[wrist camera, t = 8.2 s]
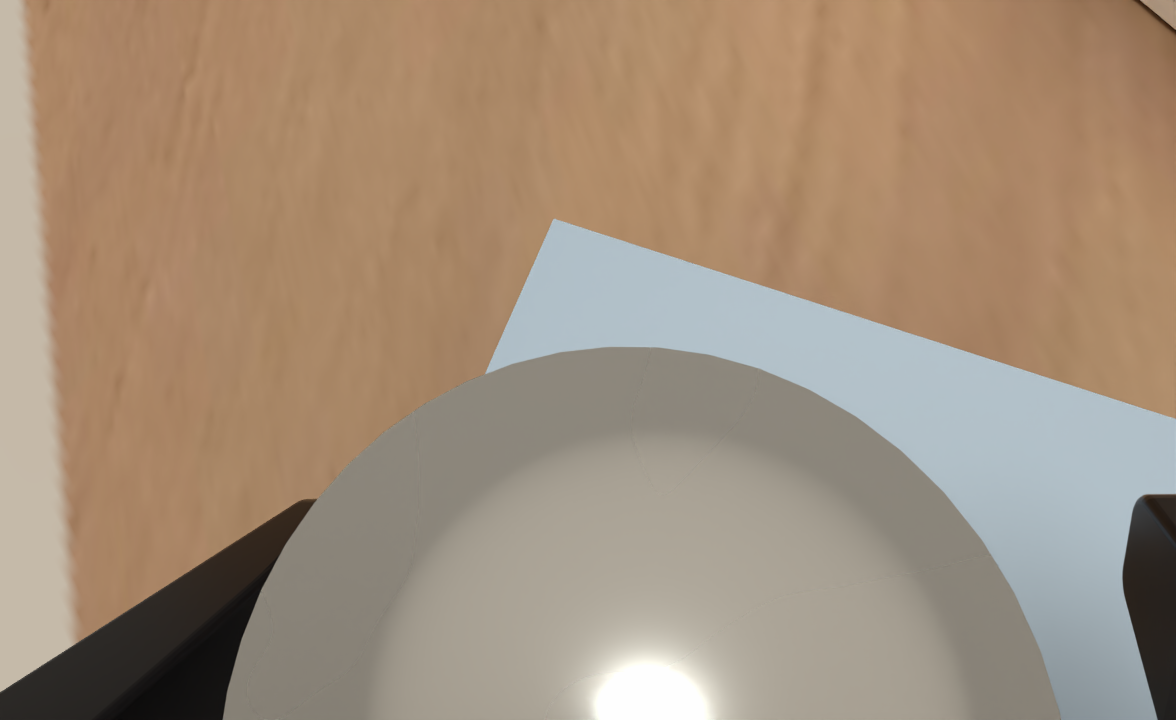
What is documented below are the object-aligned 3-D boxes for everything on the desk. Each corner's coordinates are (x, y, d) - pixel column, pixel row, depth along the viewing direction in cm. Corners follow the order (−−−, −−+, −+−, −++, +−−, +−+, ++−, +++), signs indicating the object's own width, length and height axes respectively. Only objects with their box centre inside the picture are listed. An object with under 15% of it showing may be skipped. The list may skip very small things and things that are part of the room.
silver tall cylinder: (825, 826, 17) (888, 1531, 4) (614, 724, 18) (81, 976, 5) (902, 604, 17) (1193, 519, 4) (694, 520, 19) (417, 250, 5)
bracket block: (968, 1149, 15) (1022, 1319, 11) (375, 820, 18) (265, 869, 15) (1169, 491, 17) (1273, 451, 13) (600, 295, 20) (554, 219, 16)
